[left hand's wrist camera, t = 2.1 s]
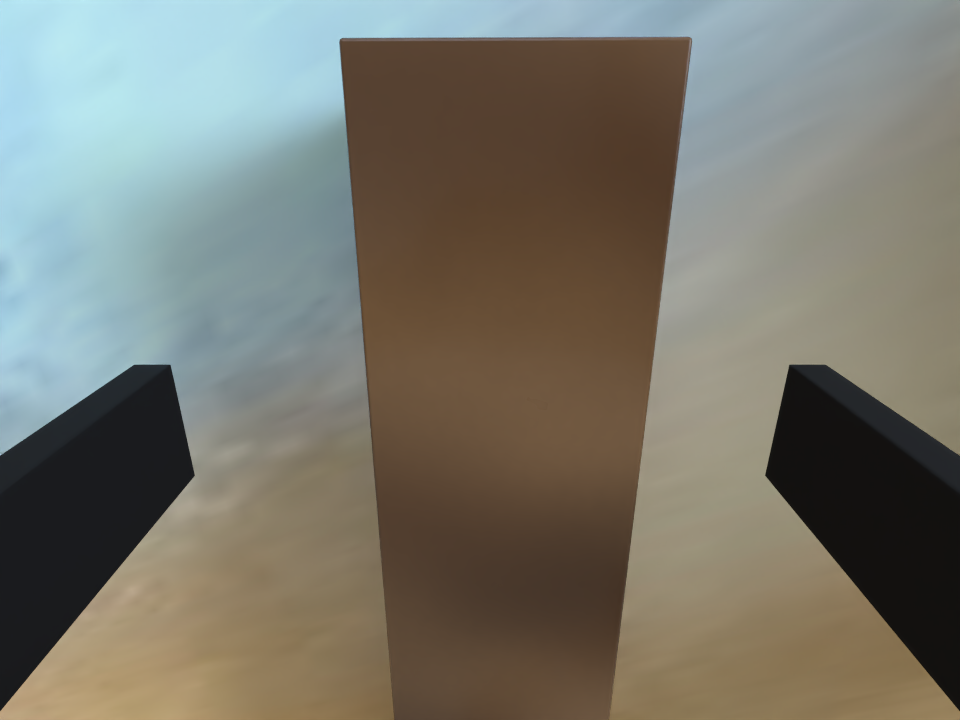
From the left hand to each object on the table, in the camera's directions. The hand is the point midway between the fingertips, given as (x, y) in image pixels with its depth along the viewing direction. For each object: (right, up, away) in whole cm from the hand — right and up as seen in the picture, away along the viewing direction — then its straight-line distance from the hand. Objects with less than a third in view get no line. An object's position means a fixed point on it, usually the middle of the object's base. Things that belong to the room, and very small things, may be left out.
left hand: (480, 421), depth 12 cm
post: (+1, -27, +18) cm, 32 cm away
